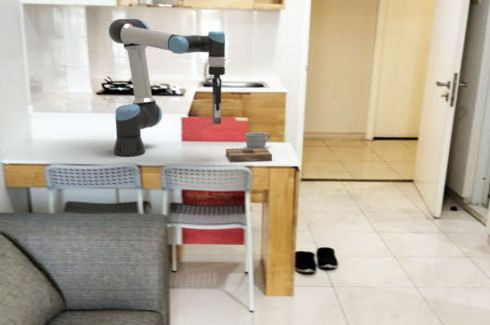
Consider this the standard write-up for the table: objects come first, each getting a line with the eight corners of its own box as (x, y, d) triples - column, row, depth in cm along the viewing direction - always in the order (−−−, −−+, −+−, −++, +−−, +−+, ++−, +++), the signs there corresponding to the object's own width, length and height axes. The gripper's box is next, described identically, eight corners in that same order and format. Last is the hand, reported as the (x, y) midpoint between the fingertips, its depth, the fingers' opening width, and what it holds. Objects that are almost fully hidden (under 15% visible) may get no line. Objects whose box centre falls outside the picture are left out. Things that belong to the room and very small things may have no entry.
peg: (212, 122, 252) (211, 95, 248) (220, 122, 252) (220, 95, 249) (213, 124, 248) (213, 96, 245) (221, 123, 249) (221, 96, 245)
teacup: (249, 151, 270) (249, 136, 268) (242, 146, 280) (242, 131, 278) (274, 149, 275) (275, 134, 272) (267, 145, 284) (267, 130, 282)
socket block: (225, 154, 262) (226, 148, 262) (265, 153, 266) (265, 147, 265) (230, 162, 249) (230, 155, 248) (271, 160, 253) (272, 154, 252)
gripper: (227, 67, 236) (227, 119, 242) (222, 64, 252) (222, 113, 258) (210, 67, 235) (211, 119, 241) (206, 64, 251) (206, 113, 257)
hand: (216, 116), depth 249 cm, fingers closed on peg, 4 cm apart
